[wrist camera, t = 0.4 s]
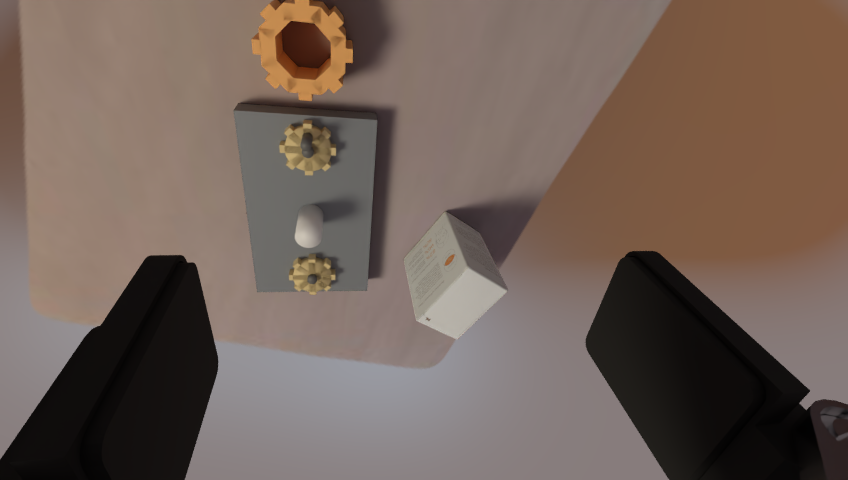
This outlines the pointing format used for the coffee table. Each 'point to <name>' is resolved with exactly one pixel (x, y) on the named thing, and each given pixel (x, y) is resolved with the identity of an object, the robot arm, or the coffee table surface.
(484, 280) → the small box
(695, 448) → the robot arm
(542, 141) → the coffee table surface
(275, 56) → the gear
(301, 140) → the board
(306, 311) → the coffee table surface
